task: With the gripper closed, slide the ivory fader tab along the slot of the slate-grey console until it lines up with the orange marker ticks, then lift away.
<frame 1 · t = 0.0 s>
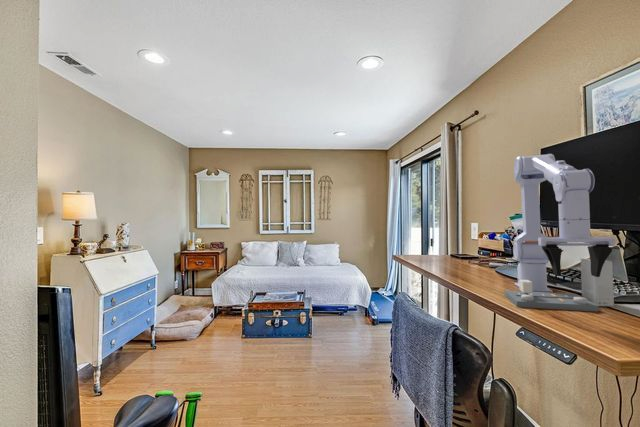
hand: (576, 275, 72), 10 cm above the table, tool pointing down, fingers open, 7 cm apart
skincare box: (597, 304, 82), on the table
fader tab: (525, 288, 85), point 4 cm above the table, slide at 0.0 cm
console: (546, 302, 84), on the table
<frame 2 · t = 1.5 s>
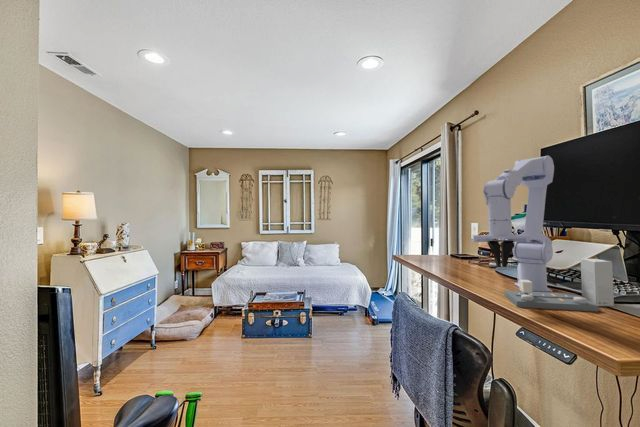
hand: (501, 266, 87), 10 cm above the table, tool pointing down, fingers closed
nothing on the table moved.
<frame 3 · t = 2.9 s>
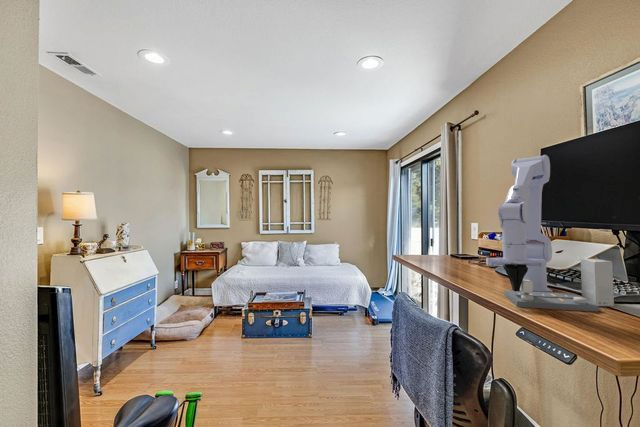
hand: (515, 290, 86), 3 cm above the table, tool pointing down, fingers closed
fader tab: (526, 288, 85), point 4 cm above the table, slide at 0.1 cm, touching gripper
everything else where it was.
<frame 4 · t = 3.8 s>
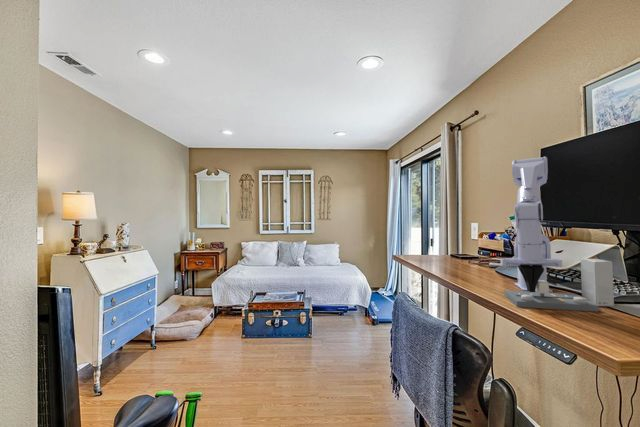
hand: (531, 291, 85), 3 cm above the table, tool pointing down, fingers closed
fader tab: (541, 288, 84), point 4 cm above the table, slide at 3.9 cm, touching gripper
everything else where it was.
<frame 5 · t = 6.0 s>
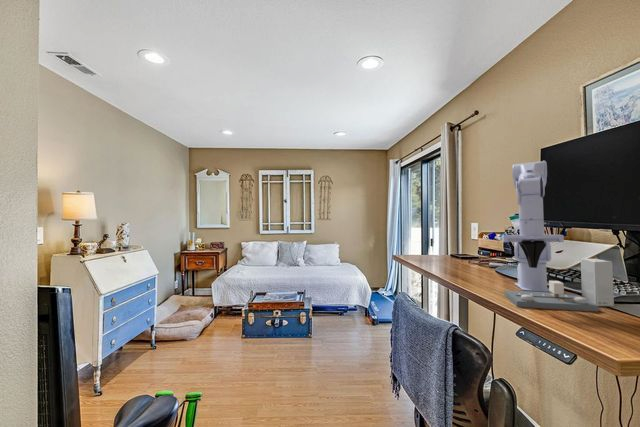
hand: (532, 267, 85), 10 cm above the table, tool pointing down, fingers closed
fader tab: (556, 289, 83), point 4 cm above the table, slide at 7.4 cm
everything else where it was.
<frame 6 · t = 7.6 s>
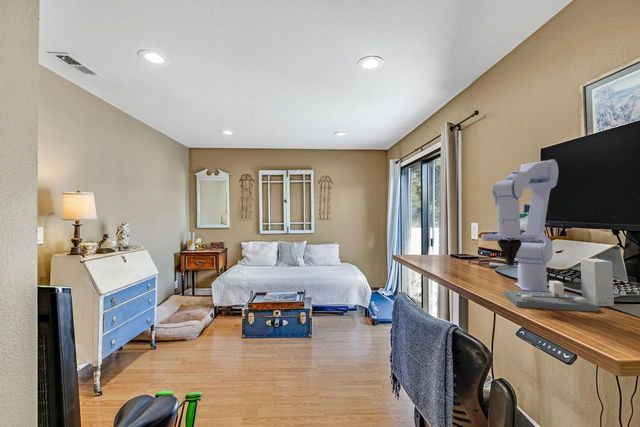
hand: (509, 265, 89), 10 cm above the table, tool pointing down, fingers closed
nothing on the table moved.
at the end: fader tab slide at 7.4 cm; fader tab moved 7.4 cm from its start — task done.
